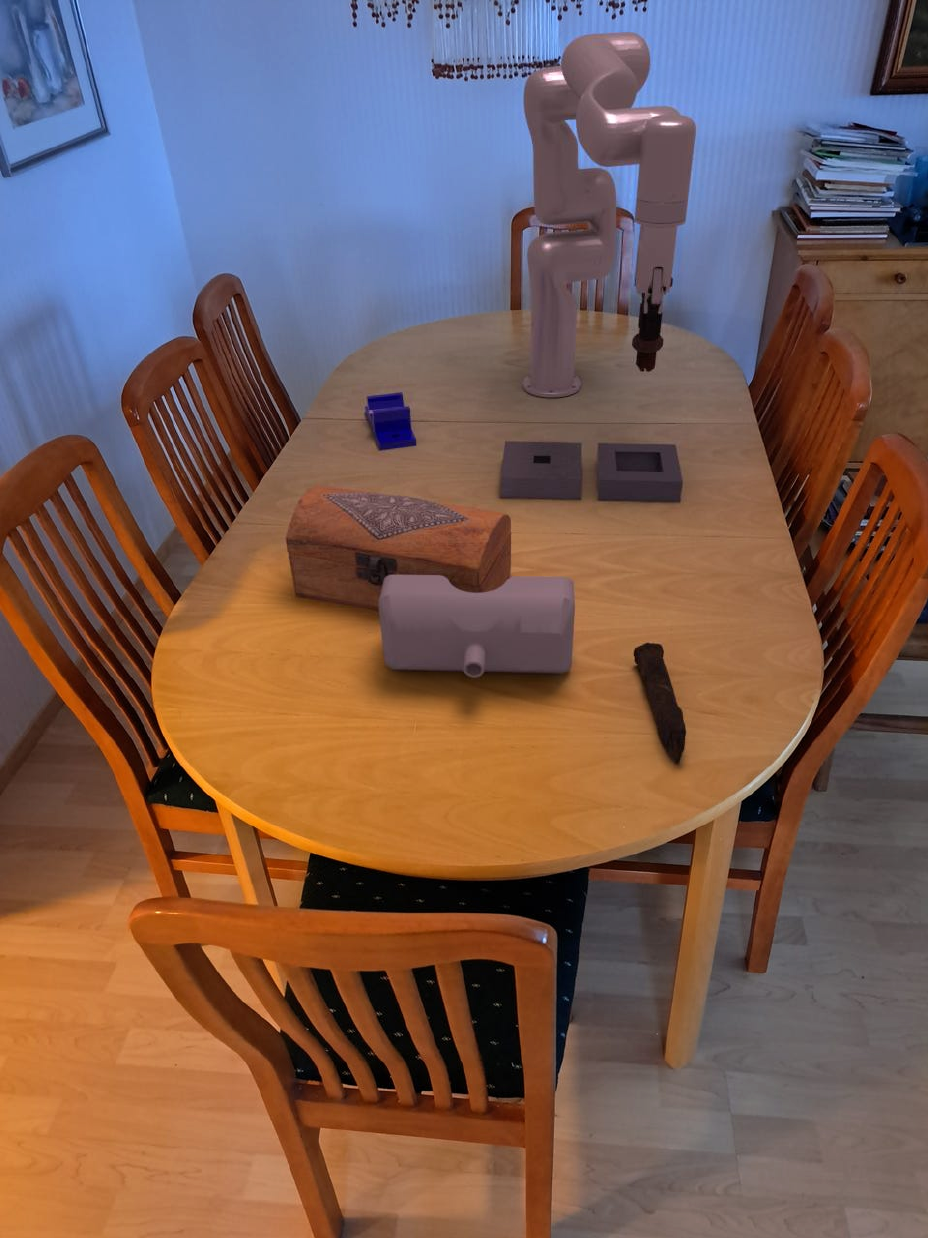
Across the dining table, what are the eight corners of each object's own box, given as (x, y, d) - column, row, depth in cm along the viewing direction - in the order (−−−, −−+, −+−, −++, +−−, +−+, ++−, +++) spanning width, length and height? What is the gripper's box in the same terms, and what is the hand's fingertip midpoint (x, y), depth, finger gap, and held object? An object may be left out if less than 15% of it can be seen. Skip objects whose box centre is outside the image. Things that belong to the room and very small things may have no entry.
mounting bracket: (365, 414, 188) (363, 387, 184) (399, 410, 189) (397, 383, 185) (380, 452, 174) (377, 423, 170) (416, 447, 175) (414, 418, 171)
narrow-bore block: (505, 460, 169) (505, 441, 166) (580, 462, 167) (581, 442, 165) (500, 497, 158) (500, 477, 155) (580, 499, 156) (581, 479, 154)
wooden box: (289, 600, 135) (275, 521, 127) (337, 544, 147) (327, 468, 139) (478, 638, 127) (476, 555, 118) (512, 575, 139) (513, 496, 130)
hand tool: (631, 664, 121) (634, 637, 118) (661, 663, 121) (665, 636, 118) (653, 768, 106) (657, 740, 103) (687, 767, 106) (692, 739, 103)
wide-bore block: (596, 462, 167) (597, 442, 165) (672, 464, 166) (675, 444, 163) (598, 500, 156) (599, 479, 154) (680, 502, 155) (682, 481, 152)
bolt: (661, 363, 150) (672, 270, 141) (664, 375, 146) (674, 280, 137) (626, 362, 151) (634, 270, 142) (627, 374, 147) (636, 280, 138)
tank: (378, 704, 116) (369, 628, 108) (393, 628, 129) (386, 555, 121) (572, 709, 114) (577, 631, 107) (569, 631, 127) (573, 557, 120)
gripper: (633, 197, 140) (623, 315, 152) (638, 225, 127) (627, 351, 139) (681, 197, 140) (668, 315, 151) (692, 225, 127) (676, 352, 138)
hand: (648, 331), depth 145 cm, fingers closed on bolt, 3 cm apart
